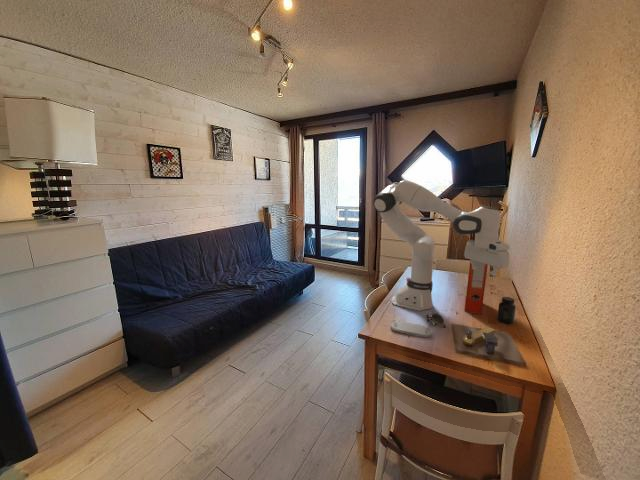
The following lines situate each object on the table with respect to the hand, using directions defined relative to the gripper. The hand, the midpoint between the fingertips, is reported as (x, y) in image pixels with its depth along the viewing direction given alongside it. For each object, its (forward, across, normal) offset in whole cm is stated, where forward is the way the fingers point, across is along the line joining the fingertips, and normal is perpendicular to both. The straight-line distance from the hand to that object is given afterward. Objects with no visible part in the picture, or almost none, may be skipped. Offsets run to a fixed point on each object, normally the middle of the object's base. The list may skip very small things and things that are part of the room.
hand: (483, 272), depth 121 cm
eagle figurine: (+27, -8, -18) cm, 33 cm away
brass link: (+25, +10, -11) cm, 29 cm away
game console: (+27, -7, -33) cm, 43 cm away
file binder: (+27, -18, +16) cm, 36 cm away
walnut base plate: (+27, +12, -10) cm, 31 cm away
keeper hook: (+26, +17, -13) cm, 33 cm away
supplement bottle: (+27, 0, +17) cm, 32 cm away
